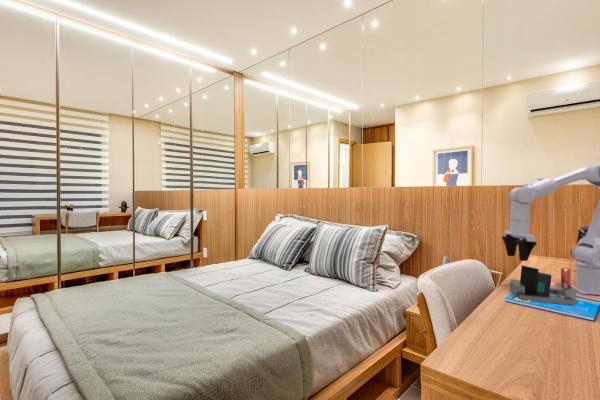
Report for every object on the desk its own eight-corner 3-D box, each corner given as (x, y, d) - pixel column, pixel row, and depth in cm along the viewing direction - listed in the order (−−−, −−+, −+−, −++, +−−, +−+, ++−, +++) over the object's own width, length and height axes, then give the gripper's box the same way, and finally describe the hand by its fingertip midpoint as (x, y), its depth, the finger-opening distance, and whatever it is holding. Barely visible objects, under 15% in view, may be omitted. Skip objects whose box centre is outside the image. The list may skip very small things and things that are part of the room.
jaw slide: (565, 295, 101) (565, 266, 100) (576, 303, 93) (576, 272, 93) (556, 294, 102) (555, 265, 101) (565, 302, 94) (565, 271, 94)
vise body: (559, 293, 103) (559, 281, 103) (574, 305, 92) (574, 292, 92) (508, 288, 109) (508, 277, 109) (517, 299, 98) (517, 287, 98)
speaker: (530, 300, 97) (532, 268, 97) (518, 295, 103) (520, 265, 103) (554, 303, 97) (556, 270, 97) (541, 297, 103) (543, 267, 103)
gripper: (496, 218, 116) (494, 253, 116) (519, 222, 101) (517, 262, 102) (516, 219, 115) (514, 254, 115) (542, 223, 101) (539, 263, 101)
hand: (516, 258), depth 109 cm, fingers open, 7 cm apart
